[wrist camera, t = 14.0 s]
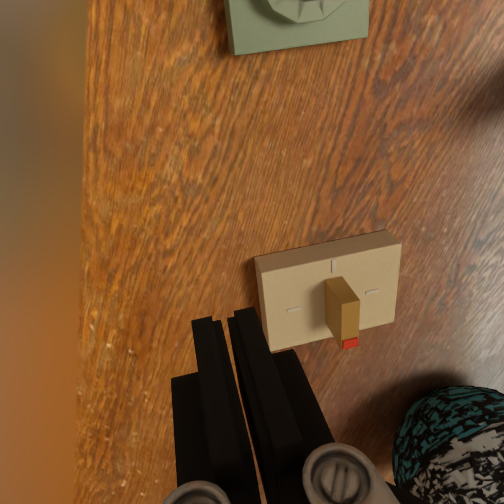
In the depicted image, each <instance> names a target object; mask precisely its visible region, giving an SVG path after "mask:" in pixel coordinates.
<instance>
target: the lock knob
mask: <svg viewBox="0 0 504 504" xmlns="http://www.w3.org/2000/svg"><path fill="white" fill-rule="evenodd" d="M325 317H326V325H327V326H328V328H329V330H330V331H331V333H332V335H333V337H334V338H335V340H336V342H337V344H338V345H339V347H340V349H343V350H344V349H348V348H352V347H356V346H358V340H359V318H360V299H359V298H358V297H357V295H356V294H355V293H354V291H353V290H352V289H351V287H350V286H349V285H348V283H347V282H346V281H345V279H344V278H343V277H342V276H341V277H336V278H332V279H327V280H325Z"/></svg>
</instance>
